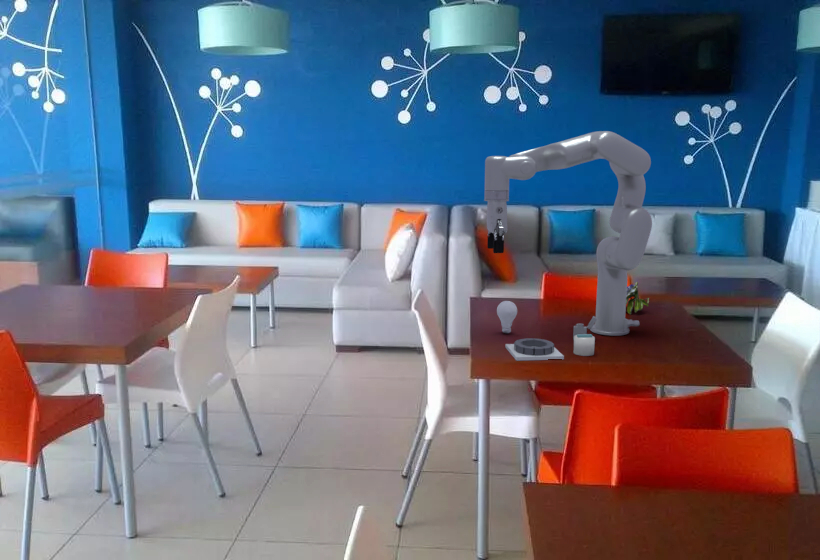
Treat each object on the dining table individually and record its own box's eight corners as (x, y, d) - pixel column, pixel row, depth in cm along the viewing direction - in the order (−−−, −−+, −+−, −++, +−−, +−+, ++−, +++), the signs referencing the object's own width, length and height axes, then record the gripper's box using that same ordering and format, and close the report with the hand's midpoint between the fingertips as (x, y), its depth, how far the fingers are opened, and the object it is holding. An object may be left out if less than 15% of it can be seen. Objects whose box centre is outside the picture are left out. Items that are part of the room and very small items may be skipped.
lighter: (572, 340, 234) (574, 315, 232) (573, 338, 235) (574, 314, 234) (595, 341, 232) (597, 317, 230) (595, 340, 233) (597, 315, 232)
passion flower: (617, 325, 277) (610, 293, 283) (650, 320, 275) (643, 288, 281) (618, 313, 266) (611, 279, 272) (653, 308, 264) (645, 274, 270)
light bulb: (515, 336, 237) (516, 303, 235) (495, 335, 238) (496, 302, 236) (517, 331, 244) (518, 299, 241) (497, 330, 245) (497, 298, 243)
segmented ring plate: (549, 346, 226) (550, 336, 226) (563, 359, 213) (564, 349, 212) (505, 347, 225) (505, 337, 224) (516, 360, 211) (516, 350, 211)
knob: (590, 350, 223) (590, 331, 221) (596, 355, 217) (597, 337, 216) (570, 350, 222) (571, 332, 221) (577, 356, 216) (578, 337, 215)
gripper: (514, 198, 220) (513, 254, 223) (502, 194, 237) (501, 246, 240) (489, 198, 219) (488, 255, 222) (479, 194, 236) (478, 246, 239)
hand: (495, 250), depth 231 cm, fingers open, 9 cm apart
